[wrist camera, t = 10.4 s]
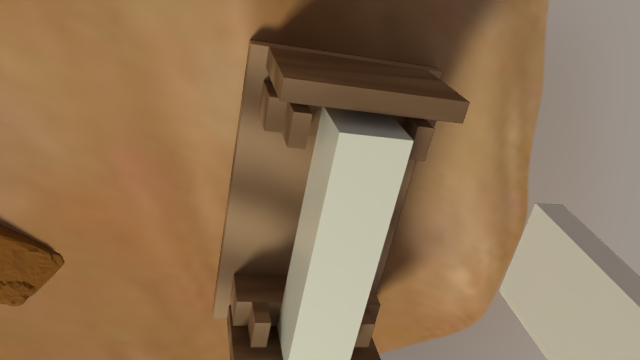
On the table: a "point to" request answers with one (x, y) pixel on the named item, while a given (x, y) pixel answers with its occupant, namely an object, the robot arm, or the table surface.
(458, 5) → the table surface
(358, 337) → the rack
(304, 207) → the strip
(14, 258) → the primitive tool
